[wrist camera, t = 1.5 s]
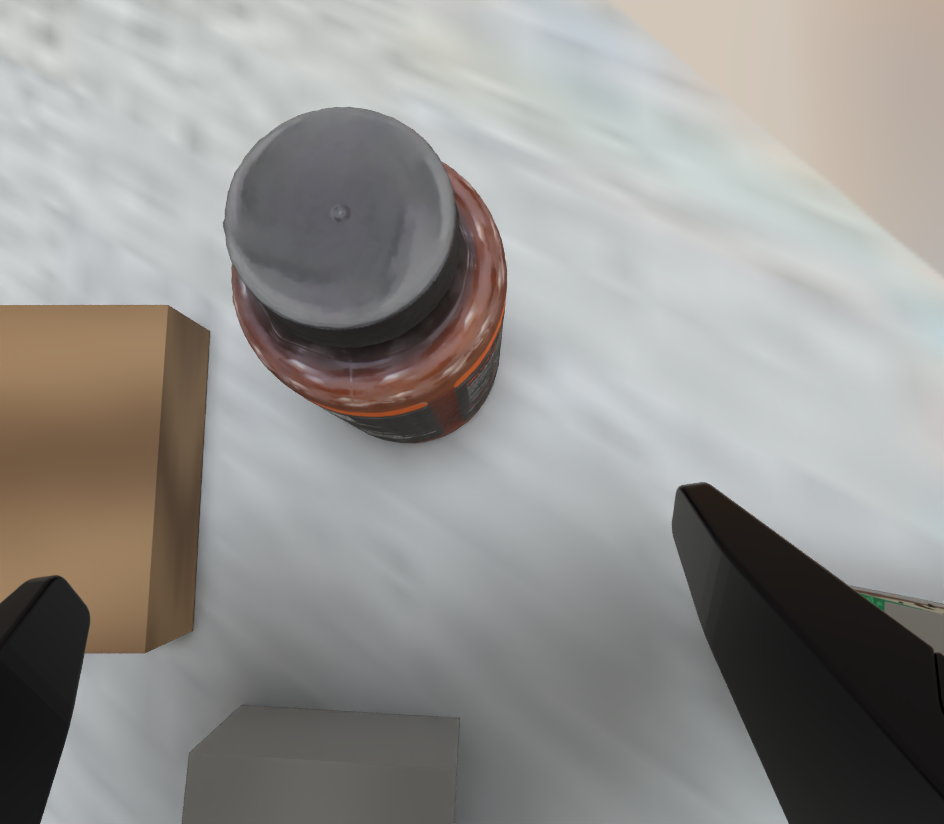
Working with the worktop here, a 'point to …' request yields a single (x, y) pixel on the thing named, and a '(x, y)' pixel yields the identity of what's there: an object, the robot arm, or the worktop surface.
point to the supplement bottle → (367, 273)
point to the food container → (912, 615)
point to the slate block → (323, 769)
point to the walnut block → (104, 462)
